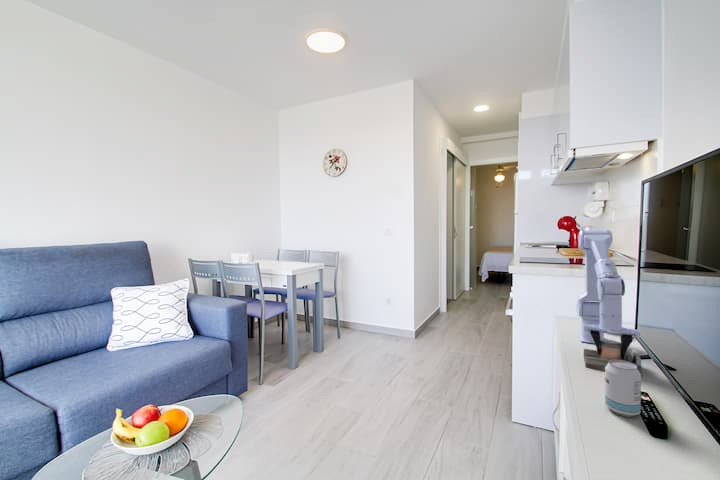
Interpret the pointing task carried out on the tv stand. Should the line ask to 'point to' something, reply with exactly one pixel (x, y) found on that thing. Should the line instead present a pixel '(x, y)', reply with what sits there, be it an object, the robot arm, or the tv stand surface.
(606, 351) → the jar
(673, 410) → the tv stand surface
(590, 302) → the robot arm
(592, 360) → the tray
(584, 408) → the tv stand surface
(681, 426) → the tv stand surface
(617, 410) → the beverage can
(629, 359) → the pusher plate
